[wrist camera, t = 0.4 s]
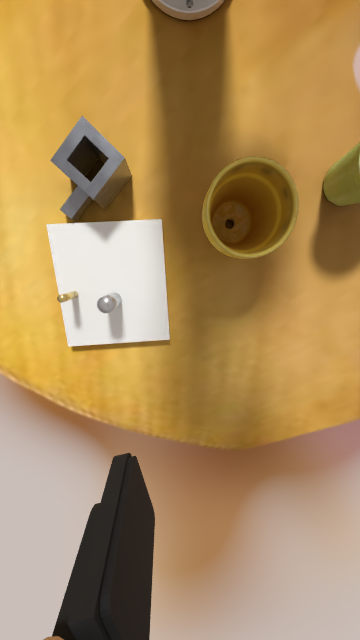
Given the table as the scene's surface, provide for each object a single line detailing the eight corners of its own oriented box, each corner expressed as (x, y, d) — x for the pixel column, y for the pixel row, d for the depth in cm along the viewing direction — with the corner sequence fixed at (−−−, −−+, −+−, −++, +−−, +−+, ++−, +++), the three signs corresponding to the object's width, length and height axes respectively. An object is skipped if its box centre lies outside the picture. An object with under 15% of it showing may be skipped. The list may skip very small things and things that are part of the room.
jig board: (50, 225, 33) (46, 224, 31) (161, 220, 33) (161, 219, 32) (71, 343, 37) (68, 346, 36) (169, 337, 38) (169, 339, 36)
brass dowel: (70, 291, 34) (56, 295, 29) (77, 290, 34) (64, 294, 29) (72, 297, 34) (58, 302, 30) (78, 297, 34) (65, 302, 30)
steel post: (105, 292, 34) (95, 297, 29) (120, 291, 34) (113, 296, 29) (107, 306, 35) (98, 313, 30) (122, 306, 35) (115, 312, 30)
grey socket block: (96, 141, 30) (82, 115, 25) (131, 176, 32) (124, 157, 26) (53, 201, 32) (30, 188, 27) (88, 232, 33) (73, 225, 28)
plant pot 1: (213, 272, 35) (230, 275, 26) (182, 208, 33) (188, 185, 24) (273, 240, 35) (312, 230, 25) (246, 172, 32) (279, 134, 23)
